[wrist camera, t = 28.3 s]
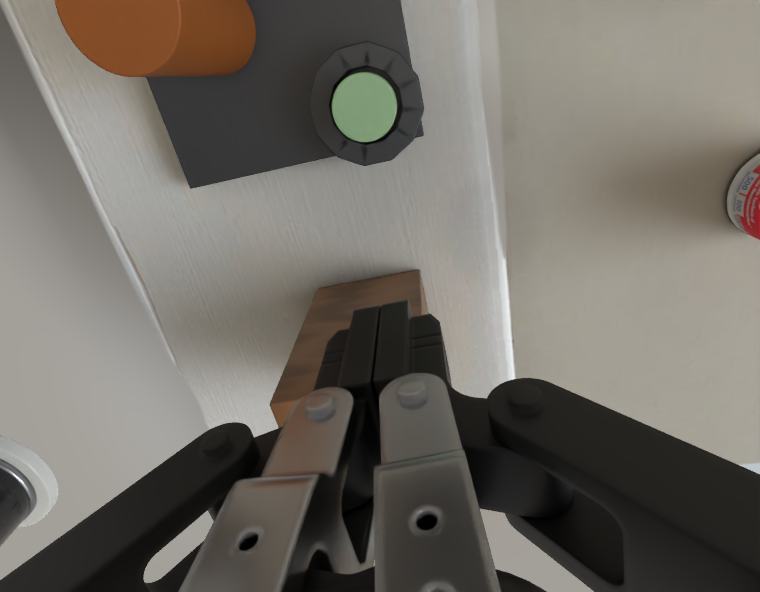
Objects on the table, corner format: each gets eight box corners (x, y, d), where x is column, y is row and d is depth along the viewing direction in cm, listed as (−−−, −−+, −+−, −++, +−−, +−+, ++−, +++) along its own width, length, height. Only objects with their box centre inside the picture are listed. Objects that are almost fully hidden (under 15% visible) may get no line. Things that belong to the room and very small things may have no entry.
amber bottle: (191, 84, 28) (90, 89, 19) (157, -10, 26) (27, -53, 17) (267, 64, 28) (199, 60, 19) (239, -34, 26) (147, -92, 17)
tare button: (344, 144, 28) (340, 148, 27) (328, 80, 27) (323, 81, 25) (402, 131, 28) (402, 134, 26) (389, 65, 26) (388, 64, 25)
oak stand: (343, 372, 39) (312, 514, 27) (317, 288, 36) (268, 404, 23) (437, 357, 38) (452, 498, 25) (419, 269, 35) (426, 380, 22)
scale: (204, 193, 33) (182, 206, 30) (117, -33, 27) (79, -47, 24) (428, 143, 31) (431, 151, 28) (384, -116, 25) (381, -143, 22)
